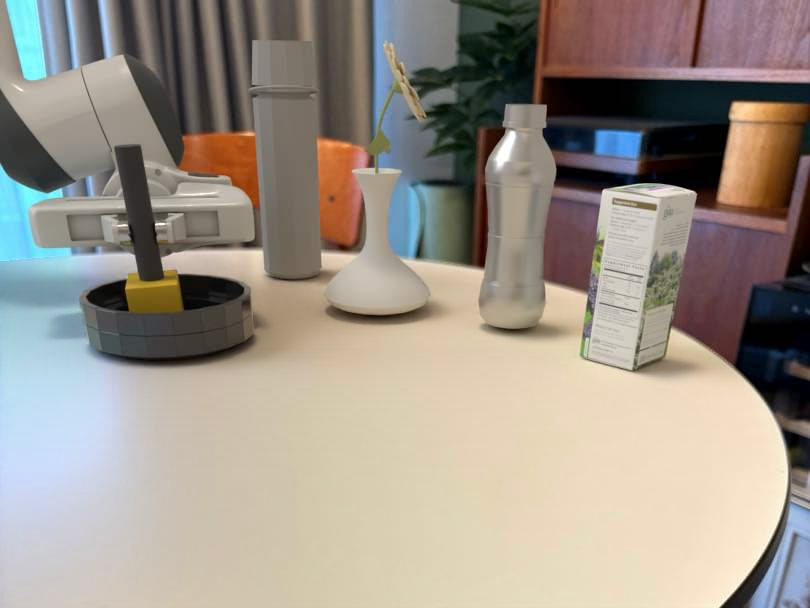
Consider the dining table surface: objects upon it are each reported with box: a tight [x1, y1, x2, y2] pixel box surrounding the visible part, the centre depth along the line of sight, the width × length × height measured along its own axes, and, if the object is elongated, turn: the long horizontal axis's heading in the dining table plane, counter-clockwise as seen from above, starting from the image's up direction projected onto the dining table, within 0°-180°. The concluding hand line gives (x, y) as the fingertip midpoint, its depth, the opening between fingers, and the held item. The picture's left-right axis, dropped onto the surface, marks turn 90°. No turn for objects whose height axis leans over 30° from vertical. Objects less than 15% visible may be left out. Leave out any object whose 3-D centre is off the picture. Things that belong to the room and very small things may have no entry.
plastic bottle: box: [478, 103, 557, 330], centre depth 79 cm, size 6×7×20 cm
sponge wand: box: [114, 144, 184, 312], centre depth 74 cm, size 4×6×16 cm
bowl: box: [78, 273, 255, 361], centre depth 77 cm, size 15×15×4 cm
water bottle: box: [248, 39, 323, 280], centre depth 98 cm, size 9×8×25 cm
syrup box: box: [579, 183, 698, 371], centre depth 72 cm, size 6×6×14 cm
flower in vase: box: [323, 39, 432, 316], centre depth 83 cm, size 13×11×25 cm
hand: (143, 234), depth 72 cm, fingers closed on sponge wand, 2 cm apart
